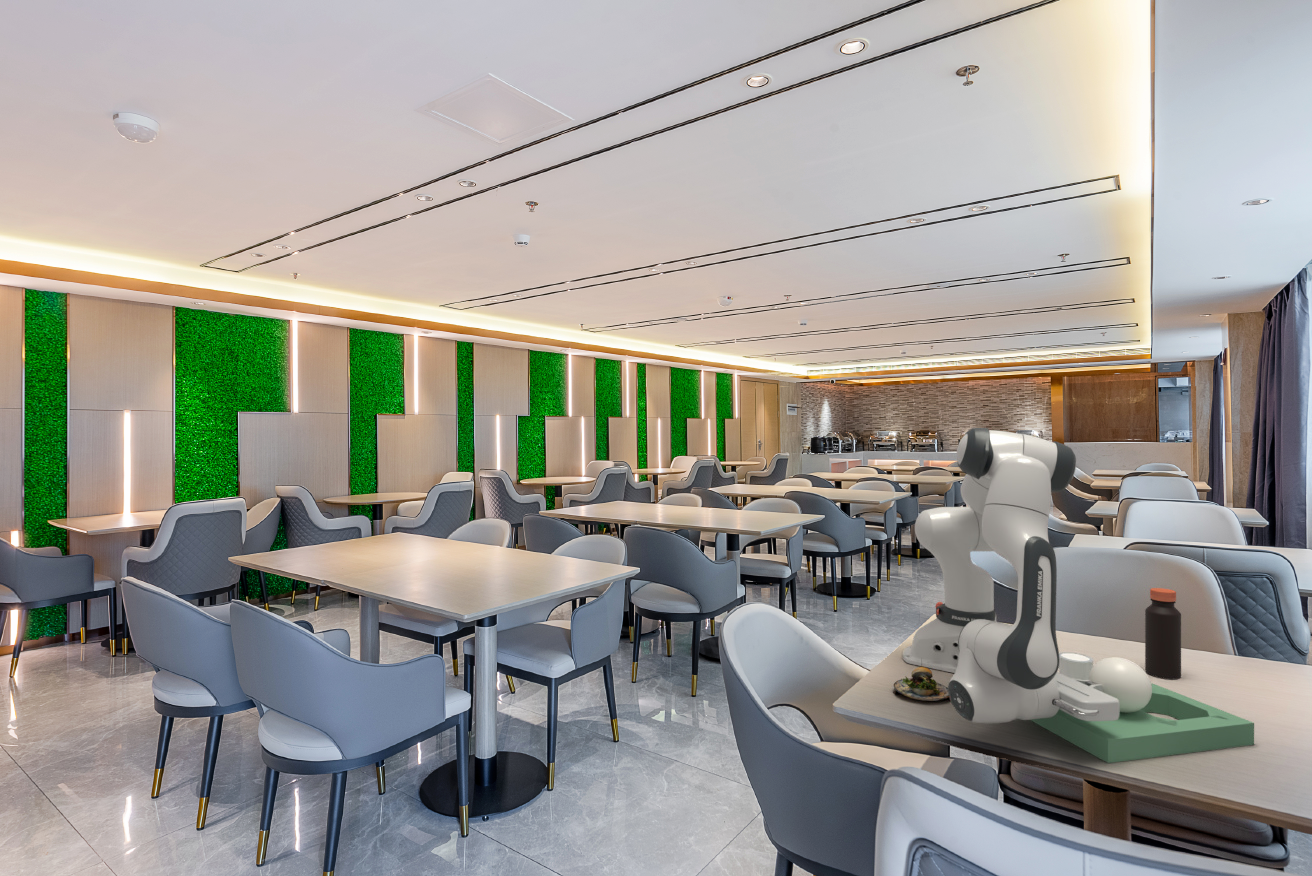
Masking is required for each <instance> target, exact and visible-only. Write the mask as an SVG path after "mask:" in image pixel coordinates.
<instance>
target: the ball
mask: <svg viewBox="0 0 1312 876" xmlns="http://www.w3.org/2000/svg"><path fill="white" fill-rule="evenodd" d="M1089 680H1091V681H1093V682H1095V683H1098V684H1100V685H1102V686H1103V693H1105V694H1108V695H1110V696H1112V697H1115V698H1117V699H1118V700H1119V705H1120V712H1123V713H1130V712H1135V711H1138V710H1140V709H1142V708H1143V707H1145V706H1146V705H1147V704H1148V702H1149V701H1150V699H1151V695H1152V685H1151V683H1152V681H1151V678H1149V674H1148V673H1147V672H1146V671H1145V669H1143V668H1142V667H1141V666H1140V665H1138V664H1137V663H1136V662H1134V661H1132V660H1129V659H1127V658H1123V657H1119V656H1112V657H1105V658H1102V659H1100V660H1099V661H1097V662H1095V664H1093V667H1092V669H1091V671H1090V674H1089Z"/></svg>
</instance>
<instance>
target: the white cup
mask: <svg viewBox="0 0 1312 876" xmlns="http://www.w3.org/2000/svg"><path fill="white" fill-rule="evenodd" d="M1059 659H1060V660H1059V668H1058V671H1059V672H1058V673H1060V674H1063V675H1065V676H1067V677H1069V678H1073V679H1079V680H1089V674H1090V671H1091V669H1092V667H1093V666H1094V659H1093V658H1092V657H1091V656H1088V655H1086V654H1082V653H1077V652H1067V651H1066V652H1059Z"/></svg>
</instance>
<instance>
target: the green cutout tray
mask: <svg viewBox="0 0 1312 876" xmlns="http://www.w3.org/2000/svg"><path fill="white" fill-rule="evenodd" d="M1151 685H1152V695H1151V699H1150V701H1149V702H1148V704H1147V705H1146V706H1145V707H1143V708H1142V709H1140V710H1138V711H1135V712H1130V713H1123V712H1120V714H1119V718H1118V719H1117V720H1114V721H1085V720H1081V719H1078V718H1076V717H1074V716H1072V715H1070V714H1068V713H1066V712H1064V711H1062V710H1060V709H1059V710H1058V712H1057V713H1056V715H1054V716H1053V717H1050V718H1041V719H1032V720H1030V721H1031V722H1033V723H1035V724H1036V725H1038V726H1040V727H1042V728H1044V729H1045V730H1047V731H1049V732H1051V733H1053V734H1055V735H1056V736H1058V737H1060V738H1062V739H1064V740H1065V741H1067V742H1069V743H1071V744H1073V745H1075V746H1076V747H1079V748H1080V749H1081V750H1083V751H1085V752H1087V753H1090V755H1092V756H1094V757H1096V758H1098V759H1099V760H1102V761H1104V762H1105V763H1107V764H1111V763H1119V762H1127V761H1135V760H1143V759H1151V758H1158V757H1161V758H1162V757H1166V756H1167V757H1168V756H1175V755H1182V754H1192V753H1198V752H1199V753H1200V752H1205V751H1215V750H1223V749H1230V748H1238V747H1245V746H1252V745H1255V722H1253V721H1251V720H1249V719H1246V718H1243V717H1241V716H1237V715H1235V714H1232V713H1230V712H1228V711H1224V710H1223V709H1220V708H1217V707H1215V706H1212V705H1209V704H1206V703H1204V702H1202V701H1200V700H1197V699H1193V698H1191V697H1188V696H1186V695H1183V694H1181V693H1180V692H1179V693H1178V692H1176V691H1174V690H1171V689H1168V688H1165V687H1163V686H1160V685H1158V684H1156V683H1153V682H1151ZM1151 713H1155V714H1159V715H1164V716H1169V717H1172V718H1174V719H1170V718H1165V717H1159V716H1155V715H1153V714H1151ZM1175 719H1176V720H1175Z"/></svg>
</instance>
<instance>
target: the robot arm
mask: <svg viewBox="0 0 1312 876" xmlns="http://www.w3.org/2000/svg"><path fill="white" fill-rule="evenodd" d="M956 460H957V466H958V468H959V470H960V471H961V472H962V473H964V474H965V475H964V478H963V480H962V483H961V485H960V496H961V500H962V501H963V503H964V504H965V505H967V506H939V507H934V508H930V509H925V510H922V511H921V512H920V513H919V515H918V516H917V518H916V519H915V523H914V532H915V536H916V539H917V540H918V542H919V544H921V546H922V547H923V548H925V549H926V550H927V551H928V552H930V553H931V555H932V556H933V557H934V558H935V559H936V561H937V562H938V565H939V566H940V569H941V571H942V572H941V573H942V577H943V586H944V587H943V588H944V602H942V601H938V602H937V603H936V604H935V605H934V606H935V607H934V608H935V617H936V618H935V619H933V620H931V621H930V622H928V623H927V624H925V625H923V626H922V627H920V628H918V629H917V630H916V631H915V633H914V635H913V639H912V643H911V645H909V646H907V647H905V648H904V649H903V652H902V659H903V661H904V662H906V663H907V664H911V665H915V666H918V667H925V668H928V669H934V670H938V671H943V672H949V673H953V675H952V676H951V678H950V679H949V682H948V684H947V688H948V693H949V697H950V700H951V701H950V703H951V704H952V706H953V708H954V709H955V711H956V713H958V714H959V715H960V716H961V717H962V718H963V719H965V720H967V721H969V722H970V723H971V722H972V723H975V724H976V723H977V724H1000V723H1001V724H1003V723H1010V722H1012V721H1014V720H1017V719H1018V720H1022V721H1031V720H1032V719H1041V718H1050V717H1053V716H1054V715H1056V713H1057V712H1058V710H1059V709H1060V710H1062V711H1064V712H1066V713H1068V714H1070V715H1072V716H1074V717H1076V718H1078V719H1081V720H1085V721H1114V720H1117V719H1118V718H1119V714H1120V705H1119V700H1118V699H1117V698H1115V697H1112V696H1110V695H1108V694H1105V693H1103V686H1102V685H1100V684H1098V683H1095V682H1093V681H1091V680H1079V679H1073V678H1069V677H1067V676H1065V675H1063V674H1060V672H1058V671H1059V660H1060V659H1059V653H1060V650H1059V646H1058V639H1057V631H1056V625H1057V624H1056V623H1057V622H1056V620H1057V619H1056V618H1057V586H1058V585H1057V583H1058V582H1057V581H1058V580H1057V575H1058V574H1057V573H1058V571H1057V570H1058V569H1057V568H1058V567H1057V558H1056V552H1055V548H1054V547H1053V546H1052V545H1051V543H1050V541H1049V533H1048V530H1049V527H1048V525H1049V520H1050V519H1049V518H1050V513H1051V503H1052V493H1060V492H1061V491H1062V492H1063V490H1065V489H1066V488H1068V486H1069V485H1070V484H1071V482H1072V480H1073V478H1074V476H1075V474H1076V470H1077V466H1076V465H1077V458H1076V454H1075V452H1074V451H1073V449H1072V448H1071V447H1070V446H1068V445H1066V444H1064V443H1060V442H1058V441H1051V440H1048V439H1045V438H1041V437H1038V436H1034V435H1031V434H1025V433H1016V432H1011V431H1005V430H993V429H989V428H988V427H973V428H970V429H969V430H967V431H966V432H965V433H964V435H963V436H962V437H961V439H960V441H959V443H958V444H957V448H956ZM971 552H994V553H996V554H997V555H998V556H1000V557H1002V558H1004V560H1006V561H1007V562H1009V563H1010V564H1011V566H1012V567H1013V568H1014V570H1015V571H1016V575H1017V602H1016V619H1015V621H1014V623H1013V624H1007V623H1003V622H1000V621H997V614H996V613H997V612H996V608H994V607H995V606H994V605H995V602H994V599H995V596H994V593H995V589H994V588H995V584H994V583H995V582H994V579H993V577H992V575H991V574H990V573H989V572H988V571H987V570H986V569H984V568H982V567H980V566H979V565H977V564H975V563H973V561H972V558H971ZM921 659H922V660H921ZM921 661H922V665H921ZM949 697H948V698H949Z"/></svg>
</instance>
